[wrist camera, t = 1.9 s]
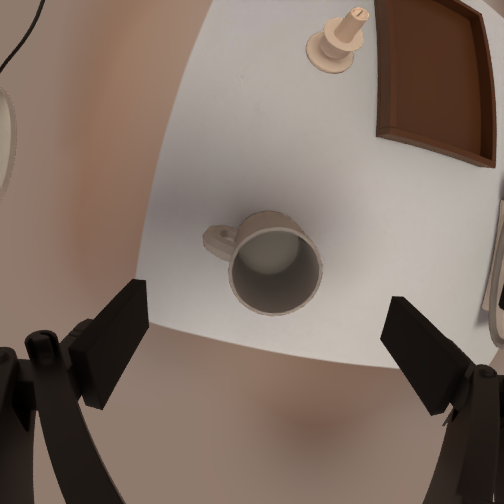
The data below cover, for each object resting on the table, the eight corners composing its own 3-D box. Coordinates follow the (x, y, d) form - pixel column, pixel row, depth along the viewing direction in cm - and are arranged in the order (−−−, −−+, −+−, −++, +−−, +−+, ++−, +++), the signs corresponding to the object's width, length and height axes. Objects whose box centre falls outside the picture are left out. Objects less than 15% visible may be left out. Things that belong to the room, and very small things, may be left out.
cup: (287, 285, 32) (300, 326, 24) (199, 255, 31) (182, 288, 23) (312, 224, 30) (337, 246, 22) (221, 190, 29) (210, 200, 21)
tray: (371, -24, 21) (380, -36, 18) (469, 20, 22) (481, 14, 19) (375, 136, 28) (389, 133, 25) (479, 166, 28) (495, 168, 25)
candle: (302, 66, 26) (327, 24, 16) (309, 28, 24) (333, -21, 14) (349, 79, 26) (392, 46, 16) (354, 41, 25) (393, 1, 15)
